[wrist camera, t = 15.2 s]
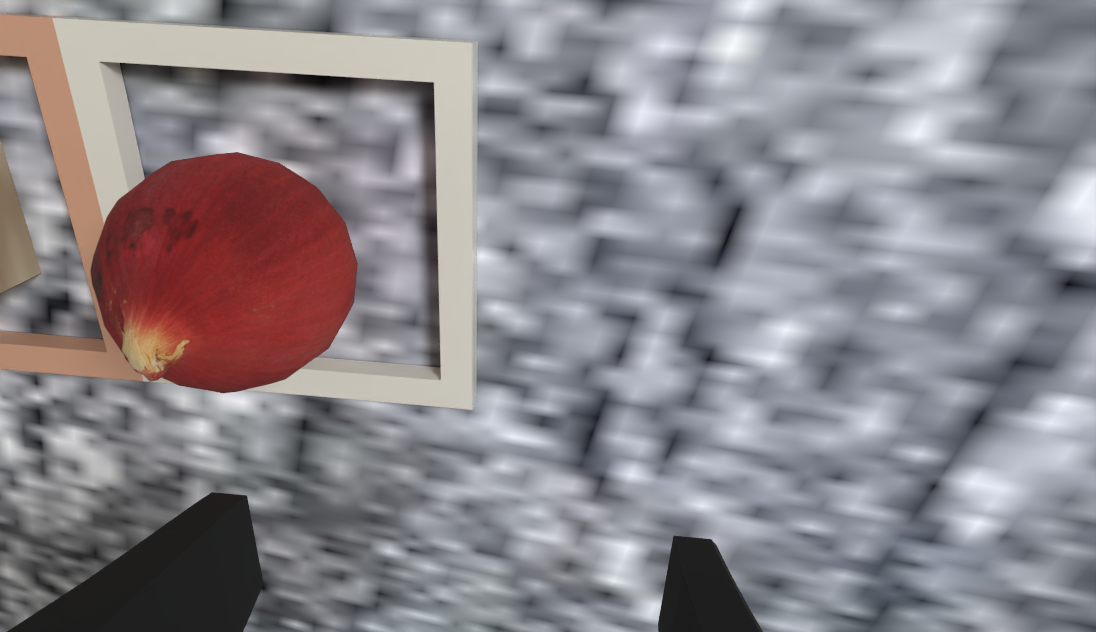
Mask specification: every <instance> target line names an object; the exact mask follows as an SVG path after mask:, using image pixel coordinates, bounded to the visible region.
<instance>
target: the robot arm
mask: <svg viewBox="0 0 1096 632" xmlns="http://www.w3.org/2000/svg"><path fill="white" fill-rule="evenodd" d="M262 586H263V579H262V574H261V569H260V563H259V558H258V553H257V547H256V542H255V537H254V531H253V526H252V521H251V515H250V510H249V505H248V500H247V496H245V495H234V494H224V493H213V492H212V493H210V494H209V495H207V496H206V497H204V498H203V499H201V500H200V501H198V502H197V503H195V504H194V505H193V506H191V507H190V508H188V509H187V510H185V511H184V512H183V513H181V514H180V515H178V516H177V517H175V518H174V519H173V520H171V521H170V522H168V523H167V524H166V525H164V526H163V527H161V528H160V529H159V530H157V531H156V532H154V533H153V534H152V535H150V536H149V537H147V538H146V539H145V540H143V541H142V542H140V543H139V544H138V545H136V546H135V547H133V548H132V549H130V550H129V551H128V552H126V553H125V554H123V555H122V556H120V557H119V558H118V559H116V560H115V561H113V562H112V563H110V564H109V565H107V566H106V567H105V568H103V569H102V570H100V571H99V572H97V573H96V574H95V575H93V576H92V577H90V578H89V579H87V580H86V581H84V582H83V583H81V584H80V585H78V586H77V587H75V588H74V589H72V590H71V591H69V592H68V593H66V594H64V595H63V596H61V597H60V598H58V599H57V600H55V601H54V602H52V603H51V604H49V605H48V606H46V607H44V608H43V609H41V610H40V611H38V612H37V613H35V614H34V615H32V616H31V617H29V618H28V619H26V620H24V621H23V622H21V623H20V624H18V625H17V626H15V627H14V628H12V629H11V630H9V631H7V632H243V630H244V628H245V626H246V623H247V621H248V619H249V617H250V614H251V612H252V610H253V607H254V605H255V602H256V600H257V598H258V595H259V593H260V590H261V588H262ZM658 630H659V632H763V631H762V629H761V628H760V626H759V624H758V623H757V621H756V619H755V617H754V616H753V614H752V612H751V610H750V609H749V607H748V605H747V603H746V601H745V600H744V598H743V596H742V594H741V592H740V591H739V589H738V587H737V585H736V583H735V581H734V579H733V578H732V576H731V574H730V572H729V570H728V568H727V566H726V564H725V562H724V560H723V558H722V556H721V554H720V552H719V550H718V547H717V545H716V544H715V543H714V542H713V541H712V540H711V539H702V538H692V537H681V536H673V542H672V548H671V554H670V559H669V565H668V571H667V576H666V582H665V588H664V593H663V599H662V605H661V611H660V616H659V622H658Z"/></svg>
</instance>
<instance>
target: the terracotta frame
mask: <svg viewBox="0 0 1096 632" xmlns="http://www.w3.org/2000/svg"><path fill="white" fill-rule="evenodd" d="M52 18H65V17H63V16H46V15H29V14H13V13H0V55H5V56H21V57H27V60H28V64H29V68H30V71H31V75H32V79H33V82H34V86H35V90H36V93H37V97H38V101H39V104H40V108H41V112H42V115H43V119H44V123H45V126H46V130H47V134H48V137H49V141H50V145H51V148H52V152H53V156H54V159H55V163H56V167H57V170H58V174H59V178H60V181H61V185H62V189H63V192H64V196H65V200H66V203H67V207H68V211H69V214H70V218H71V222H72V225H73V229H74V233H75V236H76V240H77V244H78V247H79V251H80V255H81V258H82V262H83V266H84V269H85V273H86V277H87V280H88V284H89V288H90V291H91V295H92V299H93V302H94V306H95V310H96V313H97V317H98V321H99V324H100V328H101V332H102V335H103V339H93V338H81V337H69V336H57V335H45V334H33V333H21V332H9V331H0V369H7V370H18V371H30V372H42V373H53V374H65V375H76V376H88V377H100V378H111V379H123V380H134V381H143V377H142V374H140V373H137V372H135V370H134V369H133V368H132V366H131V365H130V364H129V363H128V361H127V360H126V359H125V356H124V354H123V353H122V352H121V350H120V349H119V347H118V346H117V344H116V343H115V341H114V340H113V338H112V337H111V335H110V334H109V332H108V331H107V329H106V328H105V326H104V323H103V319H102V315H101V312H100V308H99V304H98V301H97V297H96V294H95V291H94V288H93V285H92V279H91V272H90V270H91V265H92V260H93V256H94V253H95V250H96V247H97V244H98V241H99V238H100V235H101V233H102V230H103V227H104V222H103V218H102V214H101V210H100V206H99V202H98V198H97V194H96V190H95V186H94V182H93V178H92V174H91V170H90V166H89V162H88V158H87V154H86V150H85V146H84V142H83V138H82V134H81V130H80V126H79V122H78V118H77V114H76V111H75V107H74V103H73V99H72V95H71V91H70V87H69V83H68V79H67V75H66V71H65V67H64V63H63V59H62V55H61V51H60V47H59V43H58V39H57V35H56V31H55V27H54V23H53V19H52Z"/></svg>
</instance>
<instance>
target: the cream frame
mask: <svg viewBox="0 0 1096 632" xmlns="http://www.w3.org/2000/svg"><path fill="white" fill-rule="evenodd" d="M52 19H53V23H54V27H55V31H56V35H57V39H58V43H59V47H60V51H61V55H62V59H63V63H64V67H65V71H66V75H67V79H68V83H69V87H70V91H71V95H72V99H73V103H74V107H75V111H76V114H77V118H78V122H79V126H80V130H81V134H82V138H83V142H84V146H85V150H86V154H87V158H88V162H89V166H90V170H91V174H92V178H93V182H94V186H95V190H96V194H97V198H98V202H99V206H100V210H101V214H102V218H103V222H104V224H105V221H106V218H107V216H108V214H109V213H110V211H111V210H112V208H113V207H114V205H115V204H116V202H117V200H119V199H120V198H121V197H122V196H124V195H125V194H126V193H128V192H129V191H130V190H131V189H133V188H134V187H135V186H137V185H138V184H139V183H140V182H142V181H143V180H144V179H145V178H144V173H143V169H142V164H141V159H140V155H139V150H138V146H137V141H136V136H135V132H134V127H133V122H132V118H131V113H130V109H129V104H128V99H127V95H126V90H125V85H124V81H123V76H122V72H121V67H120V63H133V64H149V65H165V66H181V67H197V68H213V69H229V70H245V71H261V72H276V73H292V74H308V75H324V76H340V77H356V78H372V79H388V80H404V81H420V82H434V103H435V146H436V189H437V232H438V275H439V318H440V361H441V367H429V366H417V365H405V364H393V363H381V362H369V361H357V360H345V359H333V358H321V357H316V358H315V359H313V360H312V361H310V362H309V363H308V364H306V365H305V366H303V367H302V368H301V369H299V370H298V371H296V372H295V373H294V374H292V375H291V376H290V377H288V378H287V379H285V380H282V381H279V382H275V383H272V384H268V385H264V386H259V387H255V388H250V389H246V390H250V391H262V392H274V393H285V394H297V395H308V396H320V397H331V398H343V399H355V400H366V401H378V402H389V403H401V404H413V405H424V406H436V407H447V408H459V409H471V410H472V408H473V405H474V402H475V399H476V377H477V124H478V41H467V40H450V39H433V38H416V37H399V36H383V35H366V34H349V33H332V32H315V31H299V30H282V29H265V28H248V27H231V26H214V25H198V24H181V23H164V22H147V21H130V20H113V19H97V18H80V17H65V18H52ZM142 377H143V381H146V382H150V381H149V380H148V379H147V378H146V377H145V376H144V375H142ZM152 382H158V383H169V384H175V383H172V382H170V381H168V380H166V379H163V378H160V379H159V380H155V381H152Z"/></svg>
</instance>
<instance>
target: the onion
mask: <svg viewBox="0 0 1096 632" xmlns="http://www.w3.org/2000/svg"><path fill="white" fill-rule="evenodd" d="M90 272H91V279H92V285H93V288H94V291H95V294H96V297H97V301H98V304H99V308H100V312H101V315H102V319H103V323H104V326H105V328H106V329H107V331H108V332H109V334H110V335H111V337H112V338H113V340H114V341H115V343H116V344H117V346H118V347H119V349H120V350H121V352H122V353H123V354H124V356H125V359H126V360H127V361H128V363H129V364H130V365H131V366H132V368H133V369H134V370H135V372H137V373H140V374H142V375H144V376H145V377H146V378H147V379H148V380H149V381H150V382H152V381H155V380H159V379H160V378H163V379H166V380H168V381H170V382H172V383H175V384H177V385H179V386H185V387H191V388H198V389H204V390H210V391H215V392H220V393H229V392H237V391H241V390H246V389H250V388H255V387H259V386H264V385H268V384H272V383H275V382H279V381H282V380H285V379H287V378H288V377H290V376H291V375H292V374H294V373H295V372H296V371H298V370H299V369H301V368H302V367H303V366H305V365H306V364H308V363H309V362H310V361H312V360H313V359H315V358H316V357H317V356H319V355H320V354H322V353H323V352H324V351H326V350H327V349H329V347H330V345H331V343H332V342H333V340H334V338H335V336H336V335H337V333H338V331H339V329H340V328H341V326H342V324H343V322H344V321H345V319H346V317H347V315H348V313H349V311H350V309H351V307H352V305H353V303H354V295H355V285H356V274H357V261H356V257H355V254H354V250H353V247H352V244H351V240H350V237H349V233H348V230H347V227H346V223H345V221H344V220H343V219H342V218H341V217H340V215H339V214H338V213H337V212H336V210H335V209H334V208H333V207H332V205H331V204H330V203H329V202H328V200H327V199H326V198H325V197H324V195H323V194H322V193H321V191H320V190H319V189H318V188H317V187H316V186H314V185H313V184H311V183H310V182H308V181H307V180H305V179H304V178H302V177H300V176H299V175H297V174H296V173H294V172H293V171H291V170H290V169H288V168H286V167H285V166H283V165H281V164H280V163H277V162H273V161H269V160H265V159H262V158H258V157H254V156H250V155H246V154H242V153H238V152H235V153H225V154H216V155H209V156H202V157H196V158H189V159H183V160H176V161H171V162H169V163H168V164H166V165H165V166H163V167H161V168H160V169H158V170H157V171H155V172H154V173H152V174H151V175H149V176H148V177H147V178H146V179H144V180H143V181H142V182H140V183H139V184H138V185H137V186H135V187H134V188H133V189H131V190H130V191H129V192H128V193H126V194H125V195H124V196H122V197H121V198H120V199H119V200H117V202H116V204H115V205H114V207H113V208H112V210H111V211H110V213H109V214H108V216H107V218H106V221H105V224H104V227H103V230H102V233H101V235H100V238H99V241H98V244H97V247H96V250H95V253H94V256H93V260H92V265H91V270H90Z"/></svg>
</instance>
